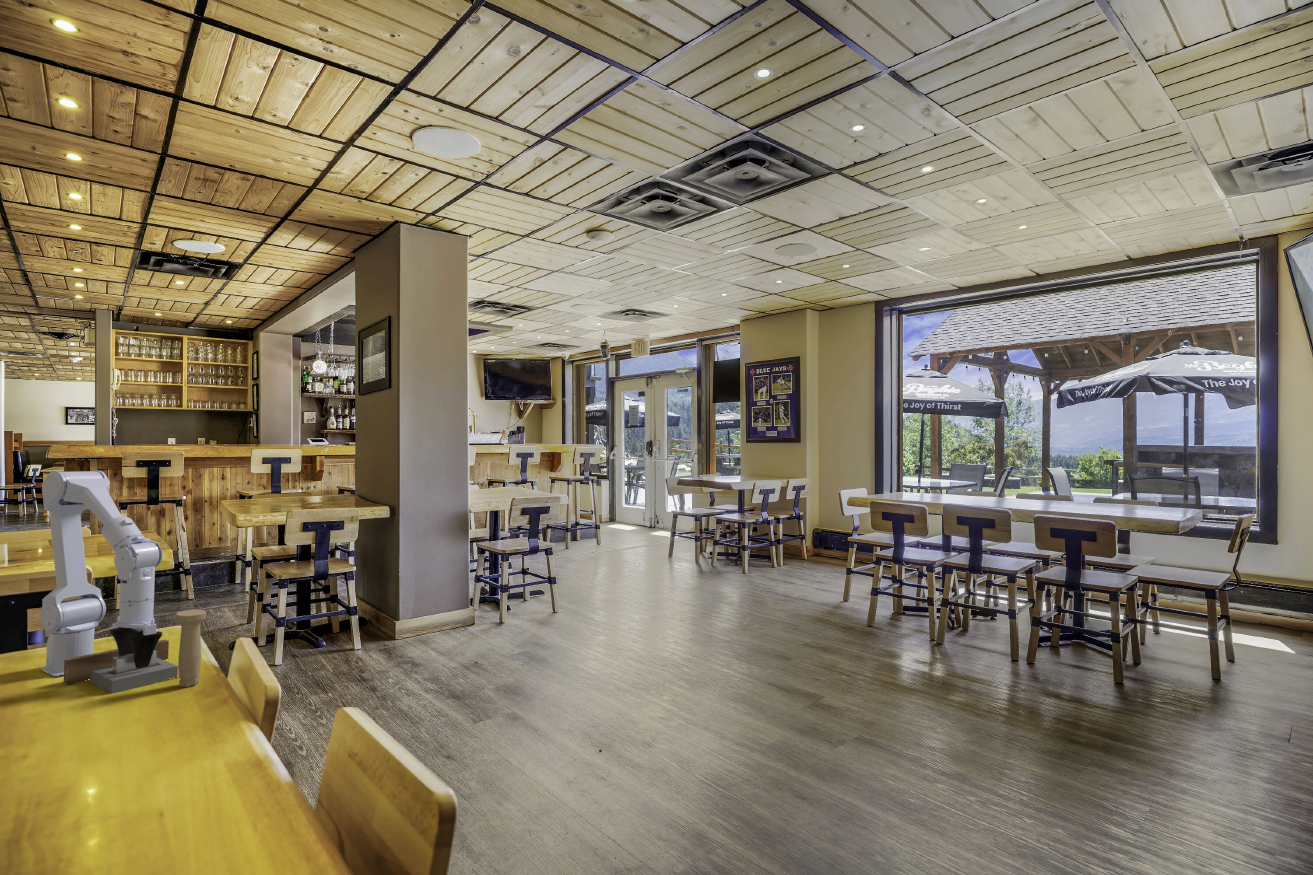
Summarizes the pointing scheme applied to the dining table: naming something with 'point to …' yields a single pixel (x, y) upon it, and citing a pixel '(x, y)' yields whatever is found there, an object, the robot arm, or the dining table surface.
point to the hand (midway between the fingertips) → (134, 663)
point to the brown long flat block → (100, 662)
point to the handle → (190, 646)
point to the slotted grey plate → (132, 676)
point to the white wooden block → (128, 663)
